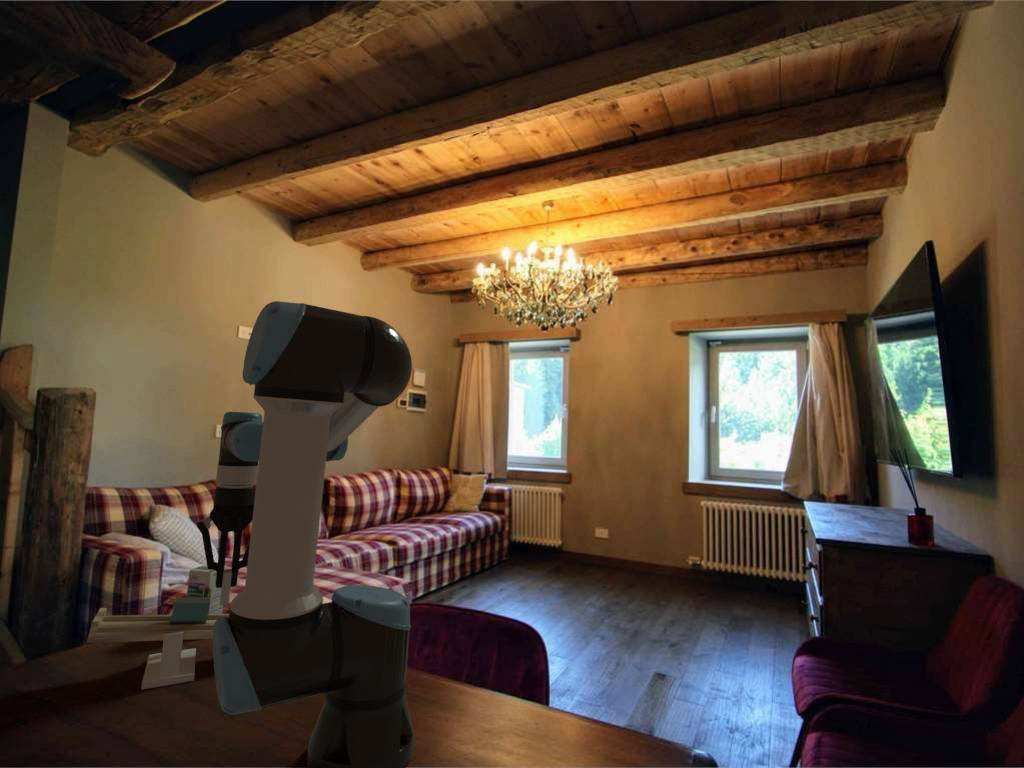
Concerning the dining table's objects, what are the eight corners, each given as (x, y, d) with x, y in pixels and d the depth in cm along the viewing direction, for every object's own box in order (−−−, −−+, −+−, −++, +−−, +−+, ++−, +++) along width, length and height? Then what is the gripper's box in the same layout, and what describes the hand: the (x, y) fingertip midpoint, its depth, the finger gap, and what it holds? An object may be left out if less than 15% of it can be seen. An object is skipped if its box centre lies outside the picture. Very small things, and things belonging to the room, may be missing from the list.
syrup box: (180, 636, 115) (187, 569, 117) (200, 626, 121) (207, 563, 122) (202, 638, 114) (209, 571, 116) (221, 629, 120) (228, 565, 121)
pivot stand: (193, 680, 95) (198, 632, 96) (141, 689, 91) (147, 639, 92) (195, 654, 106) (199, 611, 107) (148, 660, 102) (153, 616, 103)
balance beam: (246, 654, 101) (253, 619, 103) (81, 662, 89) (91, 622, 90) (243, 638, 109) (250, 606, 110) (91, 643, 96) (100, 607, 97)
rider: (204, 627, 100) (210, 603, 101) (168, 628, 97) (174, 603, 98) (204, 620, 104) (210, 597, 104) (170, 621, 101) (175, 597, 102)
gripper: (268, 484, 113) (258, 594, 111) (200, 484, 107) (187, 601, 104) (272, 487, 107) (261, 605, 104) (199, 488, 100) (185, 613, 98)
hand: (224, 603), depth 104 cm, fingers closed
